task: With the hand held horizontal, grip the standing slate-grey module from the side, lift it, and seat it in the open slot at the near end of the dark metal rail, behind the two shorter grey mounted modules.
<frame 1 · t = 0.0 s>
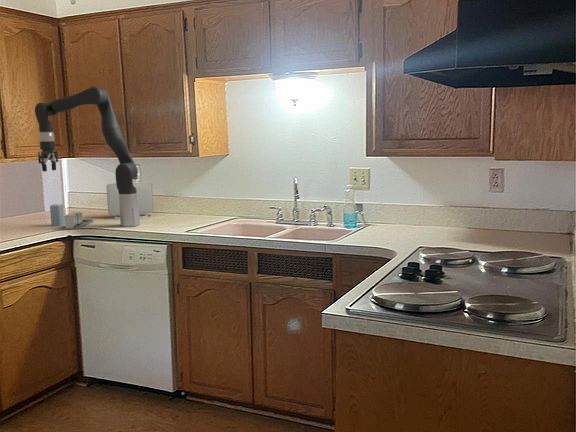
hand: (49, 170, 316), 29 cm above the worktop, tool pointing down, fingers open, 8 cm apart
module: (58, 225, 317), on the worktop
network device: (131, 217, 343), on the worktop
rail: (77, 225, 313), on the worktop
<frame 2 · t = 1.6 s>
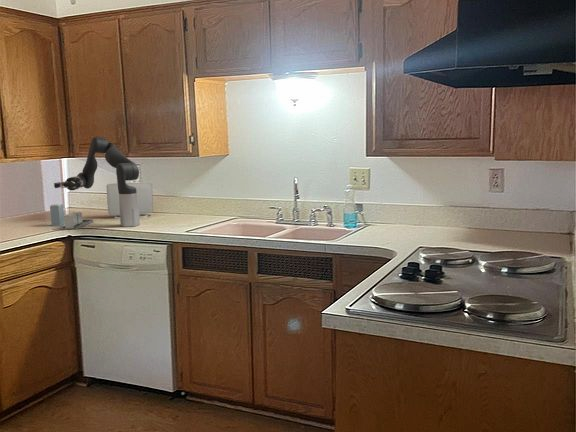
hand: (63, 186, 324), 20 cm above the worktop, tool horizontal, fingers open, 8 cm apart
nothing on the worktop moved.
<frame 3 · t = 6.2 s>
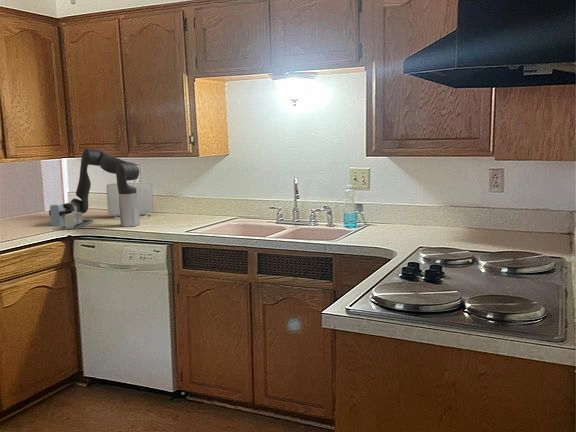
hand: (55, 214, 313), 7 cm above the worktop, tool horizontal, fingers closed on module, 4 cm apart
module: (58, 225, 317), on the worktop, touching gripper
everything else where it was.
when the fingers open (8 cm above the worktop, at t = 10.7 s): module drops 1 cm, resting on rail.
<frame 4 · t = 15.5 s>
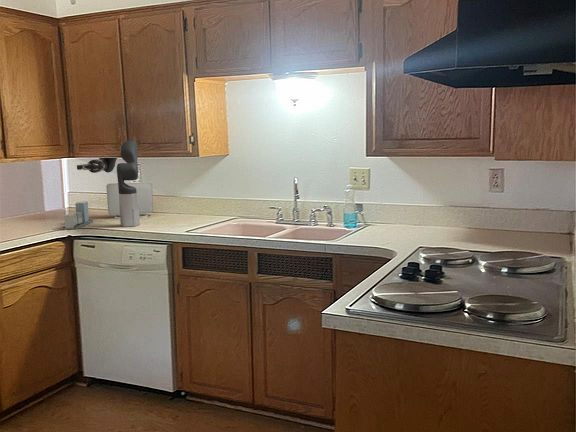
hand: (86, 167, 326), 30 cm above the worktop, tool horizontal, fingers open, 8 cm apart
module: (82, 222, 321), point 1 cm above the worktop, touching rail
everything else where it was.
at the end: module 0.1 cm from the target spot on the rail, point 0.6 cm above the rail's base; module tilted 0°; the gripper is holding nothing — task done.
